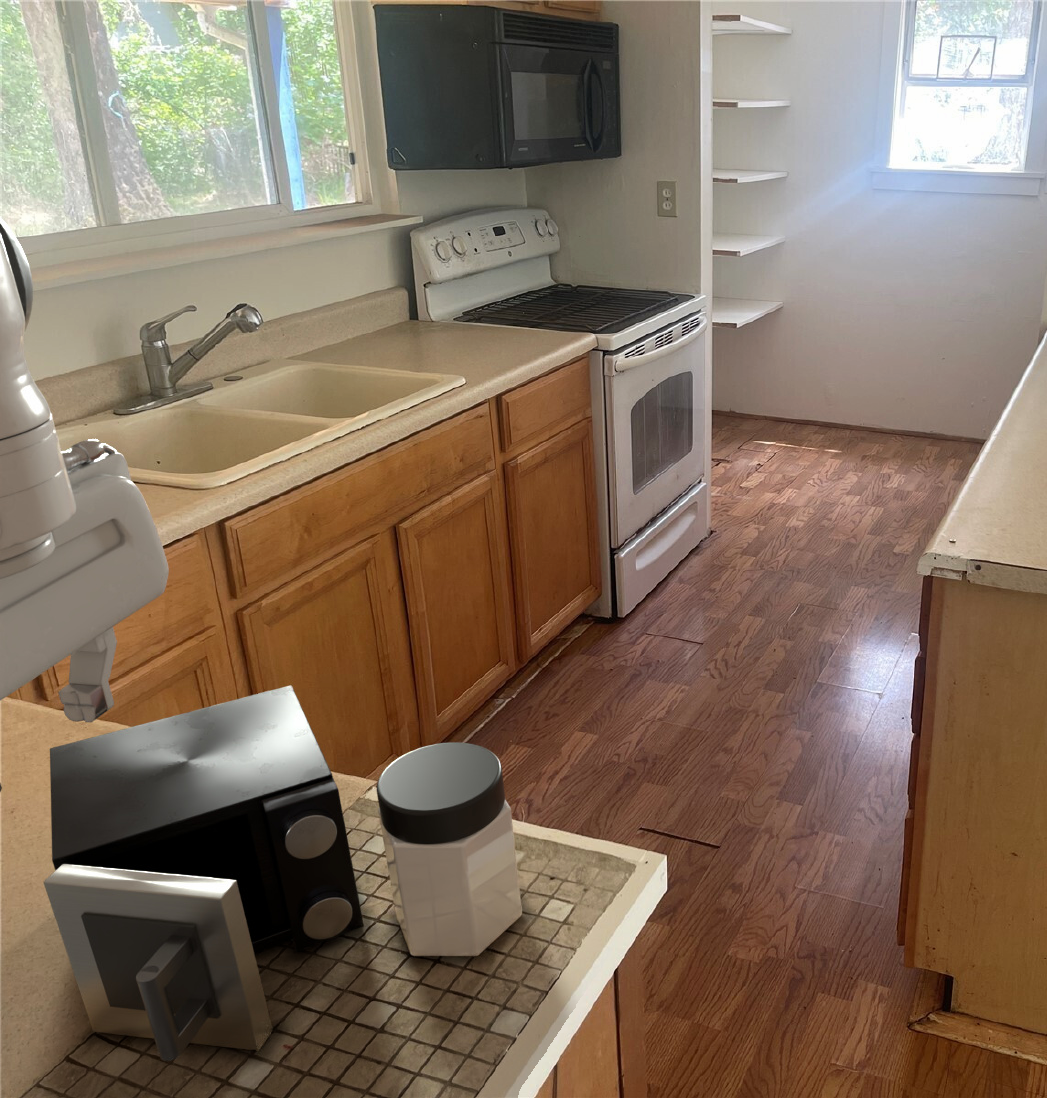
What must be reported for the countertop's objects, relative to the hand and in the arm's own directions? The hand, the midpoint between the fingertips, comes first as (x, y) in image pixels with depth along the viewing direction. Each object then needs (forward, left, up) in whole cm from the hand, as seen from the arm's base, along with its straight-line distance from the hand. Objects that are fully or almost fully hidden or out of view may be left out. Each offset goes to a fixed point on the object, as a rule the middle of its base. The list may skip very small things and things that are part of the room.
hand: (37, 755), depth 51 cm
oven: (+6, +14, -23) cm, 28 cm away
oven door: (+1, +2, -23) cm, 23 cm away
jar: (+20, +4, -23) cm, 31 cm away
